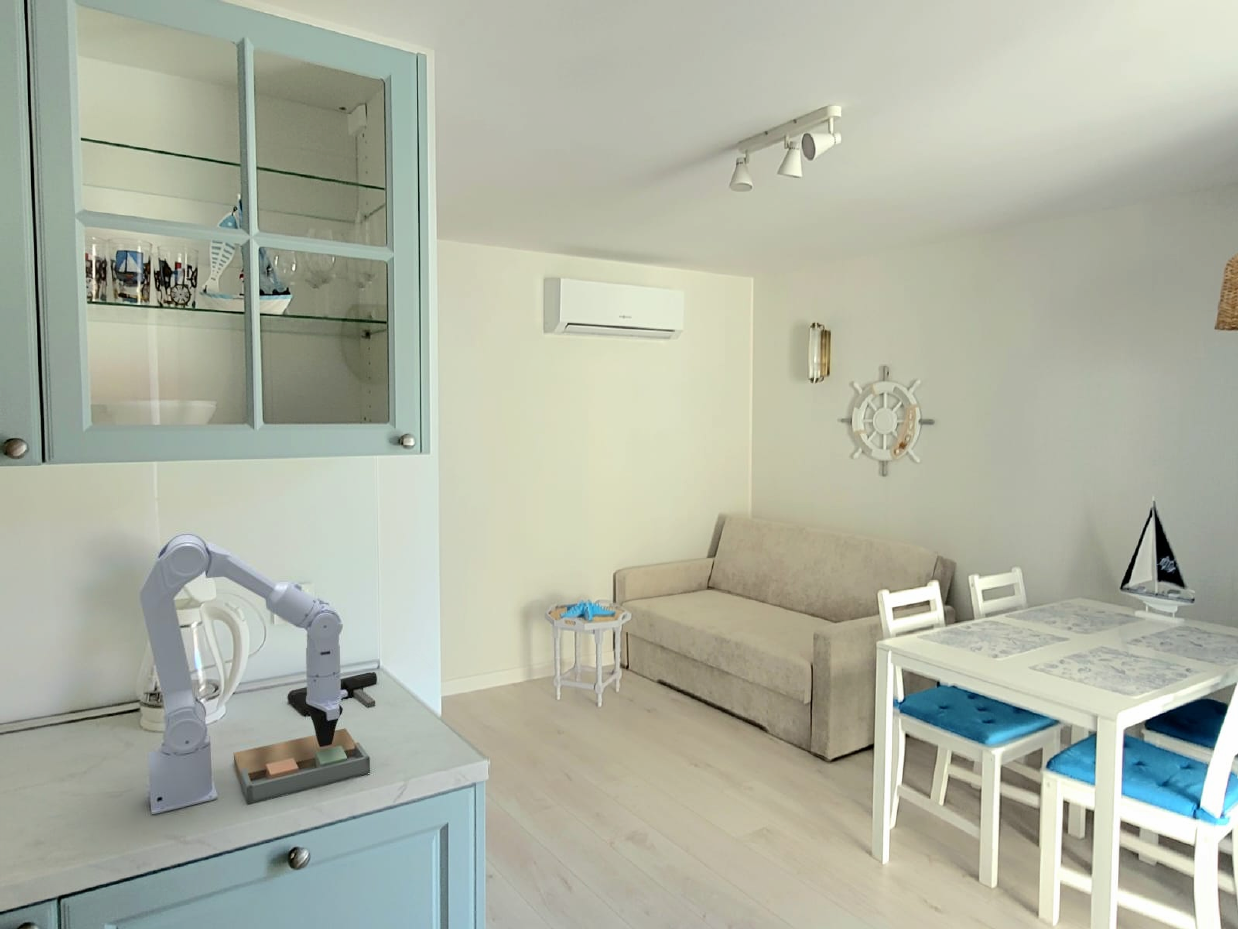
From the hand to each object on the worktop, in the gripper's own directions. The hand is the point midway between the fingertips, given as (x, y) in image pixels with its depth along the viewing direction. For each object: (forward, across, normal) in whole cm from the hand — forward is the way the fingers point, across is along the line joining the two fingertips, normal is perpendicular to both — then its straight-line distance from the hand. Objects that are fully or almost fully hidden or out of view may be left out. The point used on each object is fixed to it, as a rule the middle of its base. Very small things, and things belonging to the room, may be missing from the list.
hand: (325, 744), depth 143 cm
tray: (+4, -3, +4) cm, 7 cm away
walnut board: (+4, +6, +4) cm, 8 cm away
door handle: (+5, +31, -10) cm, 33 cm away
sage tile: (+3, -2, 0) cm, 4 cm away
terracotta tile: (+4, -2, +8) cm, 9 cm away
